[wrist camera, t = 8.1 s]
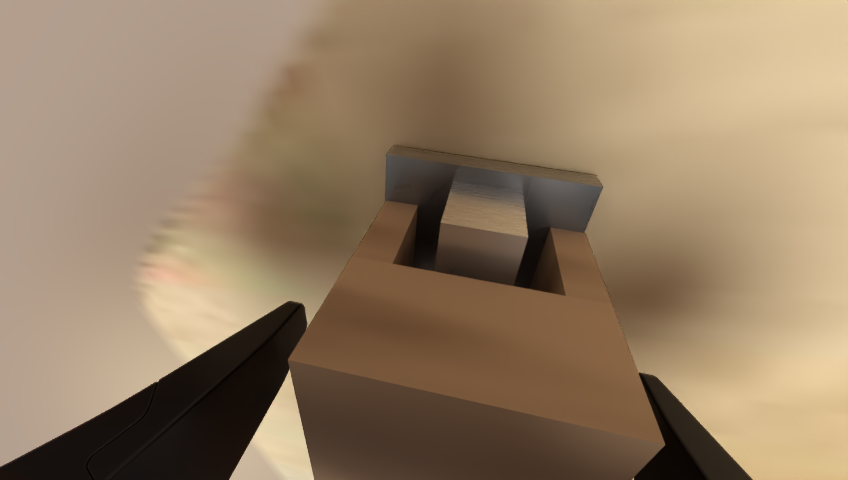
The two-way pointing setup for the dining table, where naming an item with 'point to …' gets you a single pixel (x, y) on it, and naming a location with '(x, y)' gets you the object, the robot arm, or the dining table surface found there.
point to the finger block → (469, 370)
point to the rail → (486, 211)
